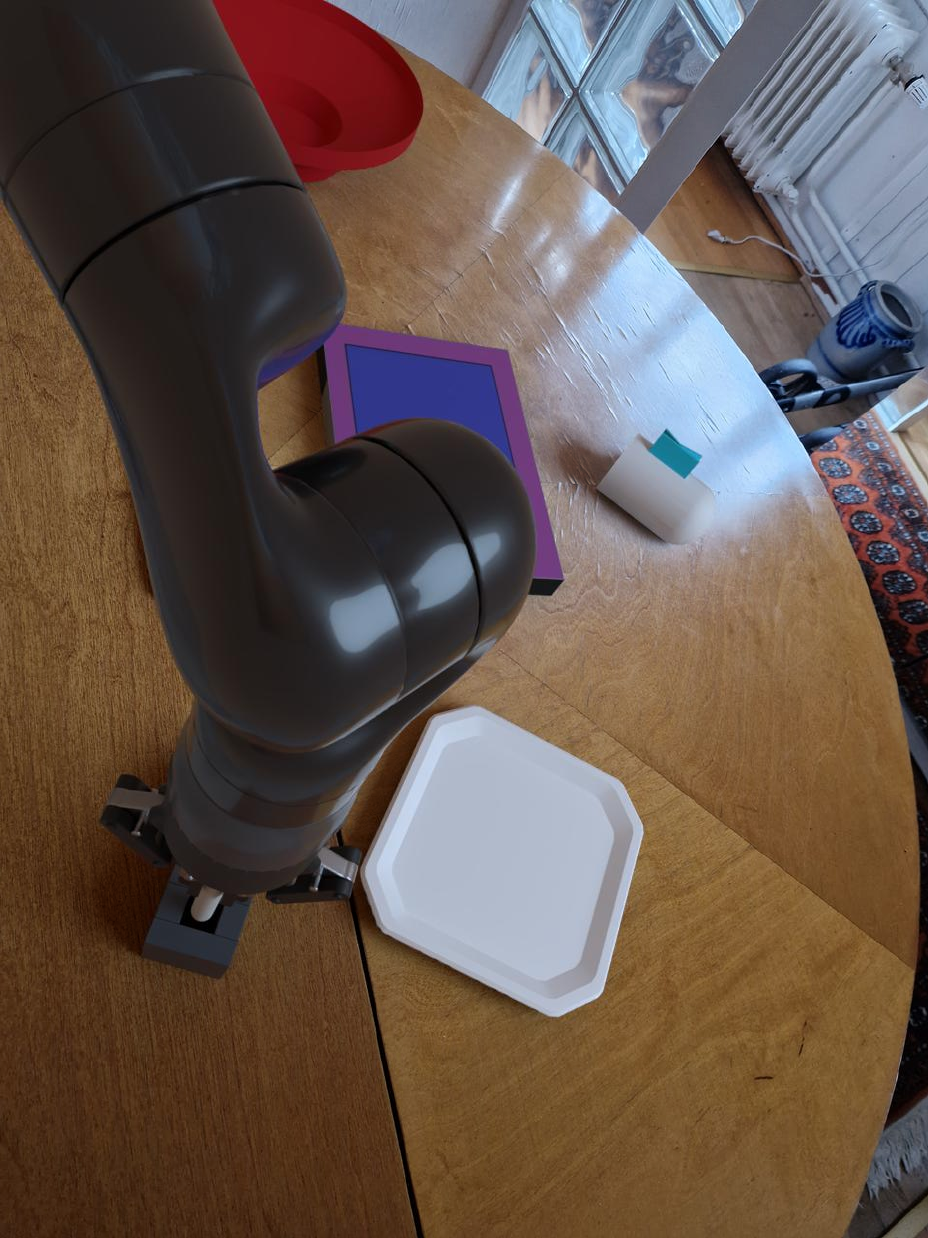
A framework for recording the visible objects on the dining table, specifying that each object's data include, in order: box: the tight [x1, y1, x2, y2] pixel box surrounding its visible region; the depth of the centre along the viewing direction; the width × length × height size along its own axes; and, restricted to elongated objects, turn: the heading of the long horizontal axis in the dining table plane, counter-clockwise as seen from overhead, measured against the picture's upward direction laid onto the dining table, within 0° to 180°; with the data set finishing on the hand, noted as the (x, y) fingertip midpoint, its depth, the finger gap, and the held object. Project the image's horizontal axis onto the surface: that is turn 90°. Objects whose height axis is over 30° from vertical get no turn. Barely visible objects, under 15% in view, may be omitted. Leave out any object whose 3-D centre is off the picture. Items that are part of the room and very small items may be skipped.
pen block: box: [140, 863, 255, 980], centre depth 62 cm, size 13×6×5 cm, turn 168°
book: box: [315, 323, 565, 597], centre depth 89 cm, size 21×3×30 cm
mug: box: [596, 427, 717, 546], centre depth 96 cm, size 12×9×12 cm
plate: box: [359, 704, 644, 1018], centre depth 71 cm, size 21×21×2 cm
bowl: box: [212, 0, 424, 183], centre depth 105 cm, size 30×30×10 cm
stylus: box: [190, 884, 223, 922], centre depth 52 cm, size 1×1×12 cm
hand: (214, 883), depth 52 cm, fingers closed on stylus, 1 cm apart
